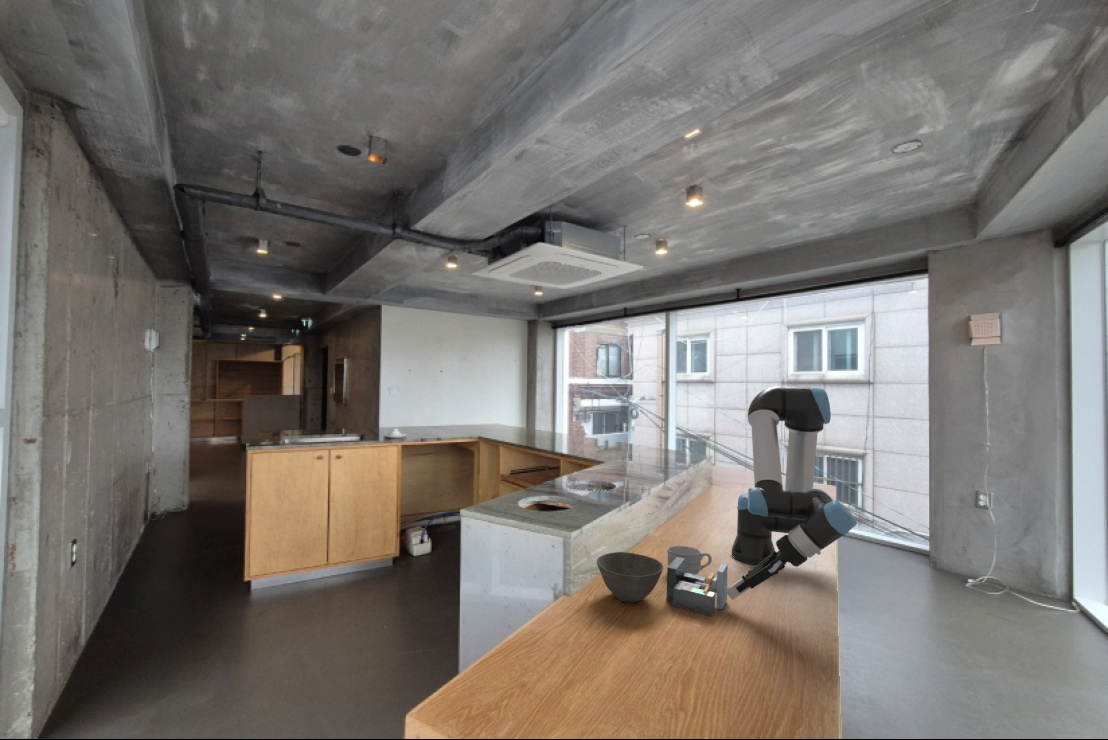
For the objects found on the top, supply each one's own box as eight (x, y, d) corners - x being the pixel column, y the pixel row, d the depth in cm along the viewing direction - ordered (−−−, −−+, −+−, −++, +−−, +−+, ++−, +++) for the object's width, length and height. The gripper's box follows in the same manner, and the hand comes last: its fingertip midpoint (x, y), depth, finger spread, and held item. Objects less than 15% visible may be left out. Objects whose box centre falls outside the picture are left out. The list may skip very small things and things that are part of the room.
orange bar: (711, 580, 135) (711, 572, 135) (714, 581, 135) (714, 573, 135) (703, 594, 126) (703, 585, 126) (706, 594, 125) (706, 586, 125)
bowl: (674, 599, 134) (675, 563, 135) (638, 621, 120) (639, 581, 121) (620, 579, 147) (621, 546, 147) (582, 596, 133) (583, 561, 134)
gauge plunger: (698, 592, 138) (699, 558, 138) (726, 599, 134) (727, 564, 134) (692, 601, 132) (693, 565, 132) (722, 609, 128) (723, 572, 128)
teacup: (664, 577, 150) (665, 551, 150) (669, 565, 160) (669, 541, 160) (710, 585, 145) (710, 559, 145) (712, 573, 155) (712, 548, 155)
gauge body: (676, 587, 142) (676, 557, 143) (721, 598, 136) (722, 566, 136) (662, 603, 131) (663, 571, 131) (711, 616, 124) (712, 582, 124)
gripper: (808, 566, 115) (735, 616, 123) (809, 551, 127) (742, 598, 134) (784, 540, 118) (714, 591, 126) (788, 528, 130) (723, 575, 137)
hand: (729, 594), depth 130 cm, fingers closed
